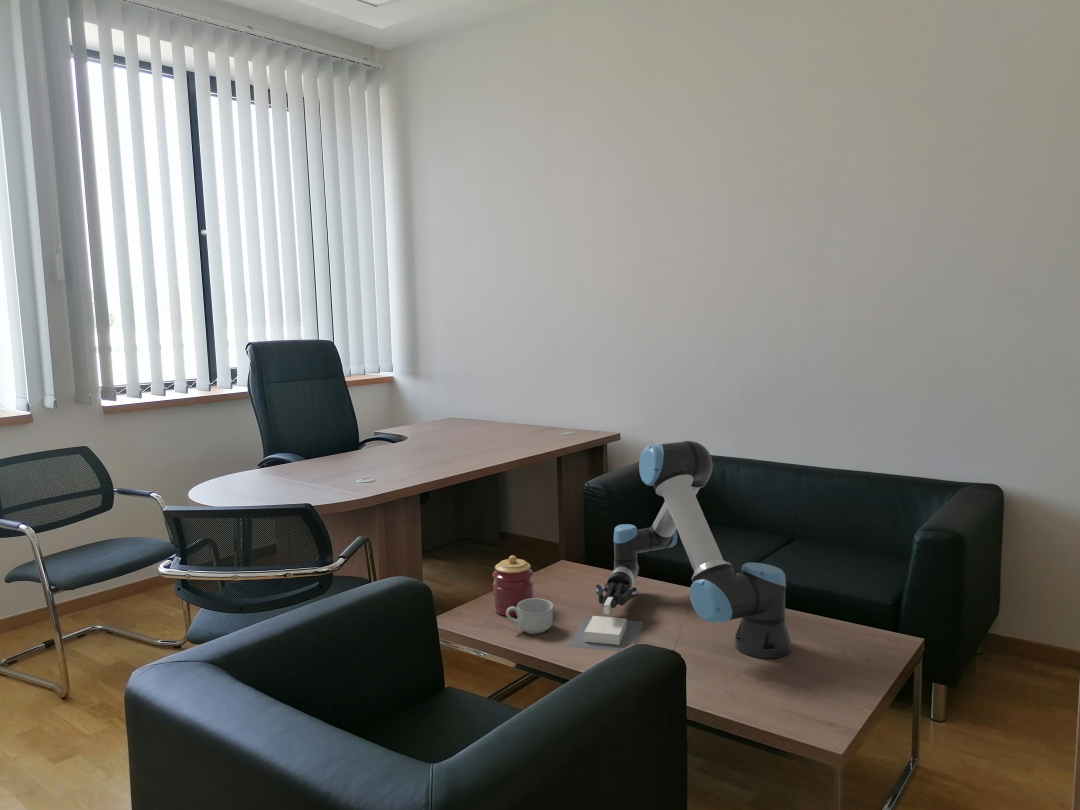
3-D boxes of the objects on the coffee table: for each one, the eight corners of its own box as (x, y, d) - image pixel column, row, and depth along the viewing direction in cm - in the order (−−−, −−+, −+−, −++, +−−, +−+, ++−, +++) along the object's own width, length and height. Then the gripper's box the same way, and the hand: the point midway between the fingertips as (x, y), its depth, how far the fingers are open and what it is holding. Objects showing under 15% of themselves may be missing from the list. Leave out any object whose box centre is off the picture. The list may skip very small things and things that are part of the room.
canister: (525, 619, 243) (523, 563, 241) (486, 614, 248) (485, 559, 246) (540, 604, 255) (539, 551, 253) (503, 600, 260) (501, 547, 258)
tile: (593, 615, 235) (584, 631, 224) (626, 618, 232) (619, 634, 221) (593, 626, 235) (584, 642, 224) (626, 629, 233) (619, 645, 221)
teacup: (555, 623, 239) (554, 598, 238) (552, 638, 229) (551, 611, 228) (509, 622, 241) (508, 597, 240) (504, 637, 230) (503, 610, 229)
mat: (585, 618, 243) (585, 616, 243) (643, 623, 238) (643, 621, 238) (568, 647, 222) (568, 645, 222) (631, 653, 217) (631, 652, 217)
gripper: (641, 595, 250) (628, 623, 227) (600, 592, 253) (584, 620, 231) (640, 572, 249) (628, 598, 226) (600, 569, 252) (584, 595, 230)
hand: (606, 609), depth 228 cm, fingers closed
